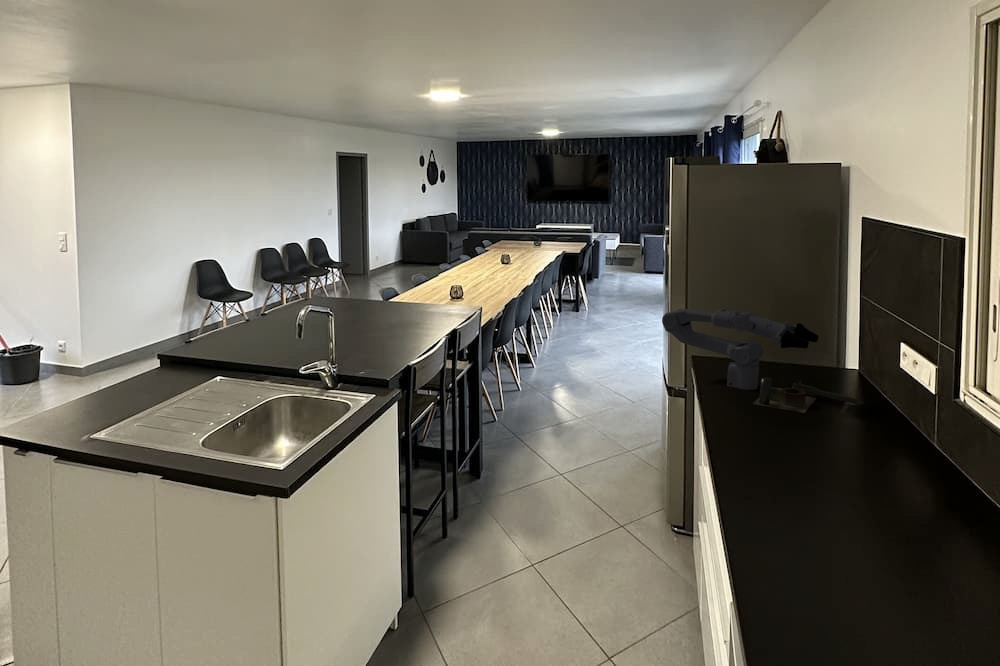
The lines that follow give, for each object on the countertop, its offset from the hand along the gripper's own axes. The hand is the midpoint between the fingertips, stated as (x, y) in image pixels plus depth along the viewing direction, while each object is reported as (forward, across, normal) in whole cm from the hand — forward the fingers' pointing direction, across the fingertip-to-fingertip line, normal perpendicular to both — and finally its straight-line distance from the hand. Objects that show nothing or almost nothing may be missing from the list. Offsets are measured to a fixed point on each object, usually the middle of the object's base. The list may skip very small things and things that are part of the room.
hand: (812, 342), depth 201 cm
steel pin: (-5, -15, +18) cm, 24 cm away
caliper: (+8, +2, +18) cm, 20 cm away
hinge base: (-1, -8, +19) cm, 21 cm away
